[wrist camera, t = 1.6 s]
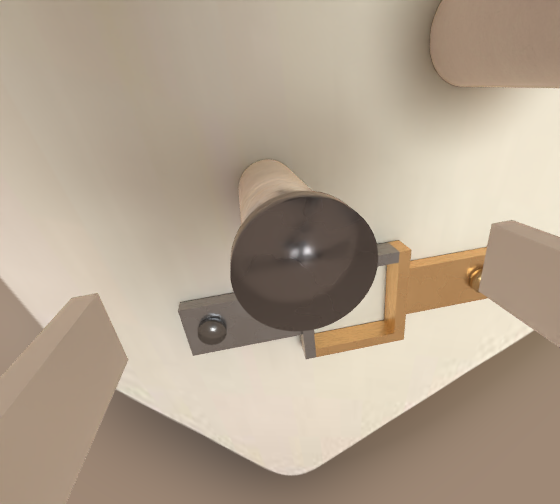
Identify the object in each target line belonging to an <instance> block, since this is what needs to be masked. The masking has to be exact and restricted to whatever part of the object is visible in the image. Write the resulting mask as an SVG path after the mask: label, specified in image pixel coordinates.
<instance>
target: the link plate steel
mask: <svg viewBox="0 0 560 504" xmlns="http://www.w3.org/2000/svg"><path fill="white" fill-rule="evenodd" d="M377 248H378V266H383V265H388V264H394V263H399V254H400V252H399V251H398V250H397V249H396V248H394V247H393V246H392V245H391V244H389V243H388V242H387V243H381V244H377ZM178 312H179V315H180V318H181V321H182V324H183V327H184V330H185V333H186V336H187V339H188V342H189V345H190V348H191V351H192V354H193V356H194V355H199V354H204V353H209V352H215V351H220V350H225V349H230V348H235V347H240V346H245V345H250V344H256V343H261V342H266V341H271V340H276V339H281V338H286V337H291V336H297V335H300V336H301V344H302V348H303V351H304V354H305V358H306V359H309V358H314V357H316V348H315V336H314V330H308V331H284V330H279V329H275V328H272V327H269V326H267V325H264V324H262V323H260V322H259V321H257V320H255V319H254V318H253V317H252V316H250V315H249V314H248V313H247V312H246V311H245V310H244V309H243V307H242V306H241V305H240V303H239V302H238V300H237V298H236V296H235V294H234V293H230V294H225V295H219V296H213V297H208V298H202V299H197V300H191V301H186V302H180V306H179V309H178Z"/></svg>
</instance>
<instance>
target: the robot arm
mask: <svg viewBox="0 0 560 504" xmlns="http://www.w3.org/2000/svg"><path fill="white" fill-rule="evenodd" d="M479 292H480V293H482V294H483V295H485V296H486V297H488V298H489V299H491V300H492V301H493V302H495V303H496V304H498V305H499V306H501V307H502V308H503V309H505V310H506V311H508V312H509V313H511V314H512V315H513V316H515V317H516V318H518V319H519V320H521V321H522V322H524V323H525V324H526V325H528V326H529V327H531V328H532V329H534V330H535V331H536V332H538V333H539V334H541V335H543V336H544V337H545V338H547V339H548V340H549V341H551V342H552V343H554V344H555V345H557V346H558V347H559V348H560V237H558V236H555V235H552V234H549V233H547V232H544V231H541V230H538V229H536V228H533V227H530V226H527V225H524V224H522V223H519V222H516V221H513V220H510V221H504V222H498V223H493V224H492V225H491V230H490V235H489V240H488V245H487V250H486V255H485V260H484V265H483V270H482V275H481V280H480V286H479ZM127 361H128V358H127V356H126V354H125V352H124V349H123V347H122V345H121V343H120V341H119V338H118V336H117V334H116V332H115V330H114V328H113V325H112V323H111V321H110V319H109V317H108V314H107V312H106V310H105V308H104V306H103V304H102V301H101V299H100V297H99V295H98V293H96V294H90V295H85V296H79V297H73V298H71V299H70V300H69V301H68V303H67V304H66V305H65V306H64V307H63V308H62V309H61V310H60V311H59V313H58V314H57V315H56V316H55V317H54V318H53V319H52V320H51V321H50V323H49V324H48V325H47V326H46V327H45V328H44V329H43V330H42V331H41V333H40V334H39V335H38V336H37V337H36V338H35V339H34V341H33V342H32V343H31V344H30V345H29V346H28V347H27V348H26V349H25V350H24V351H23V353H22V354H21V355H20V356H19V357H18V358H17V359H16V360H15V362H14V363H13V364H12V365H11V366H10V367H9V368H8V369H7V371H5V373H4V374H3V375H2V376H1V377H0V504H66V502H67V500H68V498H69V495H70V493H71V491H72V488H73V486H74V484H75V481H76V479H77V476H78V475H79V472H80V470H81V468H82V465H83V463H84V461H85V458H86V456H87V454H88V451H89V449H90V447H91V444H92V442H93V440H94V438H95V435H96V433H97V430H98V428H99V426H100V424H101V421H102V419H103V417H104V415H105V412H106V410H107V407H108V405H109V403H110V401H111V398H112V396H113V394H114V391H115V389H116V387H117V385H118V382H119V380H120V378H121V375H122V373H123V371H124V368H125V366H126V364H127Z"/></svg>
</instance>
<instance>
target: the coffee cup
mask: <svg viewBox="0 0 560 504" xmlns="http://www.w3.org/2000/svg"><path fill="white" fill-rule="evenodd" d="M430 54H431V59H432V62H433V65H434V67H435V69H436V71H437V73H438V74H439V75H440V77H441V78H442V79H443V80H445V81H446V82H448V83H449V84H451V85H454V86H459V87H514V88H560V0H442V1H441V3H440V5H439V6H438V9H437V11H436V13H435V16H434V19H433V22H432V27H431V32H430Z"/></svg>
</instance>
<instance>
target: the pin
mask: <svg viewBox="0 0 560 504" xmlns="http://www.w3.org/2000/svg"><path fill="white" fill-rule="evenodd" d="M238 190H239V203H240V216H241V226H240V228H239V230H238V232H237V234H236V236H235V238H234V242H233V245H232V250H231V283H232V287H233V291H234V294H235V296H236V298H237V300H238V302H239V303H240V305H241V306H242V307H243V309H244V310H245V311H246V312H247V313H248V314H249V315H250V316H252V317H253V318H254V319H255V320H257V321H259V322H260V323H262V324H264V325H267V326H269V327H272V328H275V329H279V330H284V331H308V330H314V329H318V328H321V327H324V326H327V325H329V324H331V323H334V322H336V321H338V320H339V319H341V318H342V317H344V316H345V315H347V314H348V313H349V312H351V311H352V310H353V309H354V308H355V307H356V306H357V305H358V304H359V303H360V302H361V301H362V299H363V298H364V297H365V295H366V294H367V292H368V291H369V289H370V287H371V285H372V283H373V281H374V278H375V275H376V271H377V266H378V248H377V243H376V240H375V237H374V234H373V232H372V230H371V228H370V227H369V225H368V224H367V223H366V221H365V220H364V219H363V218H362V217H361V216H360V215H359V214H358V213H357V212H356V211H354V210H353V209H352V208H351V207H349V206H348V205H347V204H345V203H344V202H342V201H341V200H339V199H337V198H335V197H333V196H331V195H328V194H325V193H322V192H316V191H312V190H311V189H310V188H309V187H308V186H307V185H306V184H305V183H304V182H303V181H302V180H301V179H300V178H298V177H297V176H296V175H295V174H294V173H293V172H292V171H291V170H290V169H289V168H288V167H287V166H286V165H284V164H283V163H281V162H279V161H276V160H272V159H264V160H259V161H257V162H254V163H253V164H251V165H250V166H249V167H248V168H246V170H245V171H244V172H243V174H242V176H241V178H240V181H239V189H238Z"/></svg>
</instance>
